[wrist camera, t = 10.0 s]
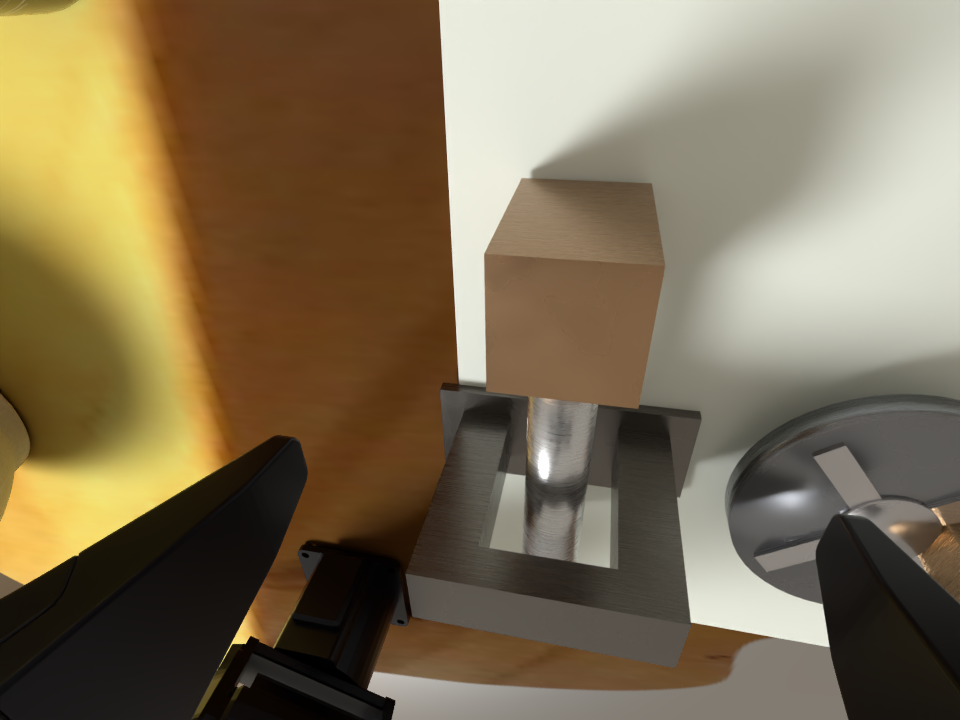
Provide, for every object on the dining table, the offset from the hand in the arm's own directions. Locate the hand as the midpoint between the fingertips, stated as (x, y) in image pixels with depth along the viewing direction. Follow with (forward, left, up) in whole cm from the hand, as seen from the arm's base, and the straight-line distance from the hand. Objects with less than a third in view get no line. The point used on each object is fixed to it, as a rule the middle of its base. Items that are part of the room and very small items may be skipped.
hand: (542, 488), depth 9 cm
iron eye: (-9, 0, -12) cm, 15 cm away
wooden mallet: (-6, 0, -11) cm, 12 cm away
